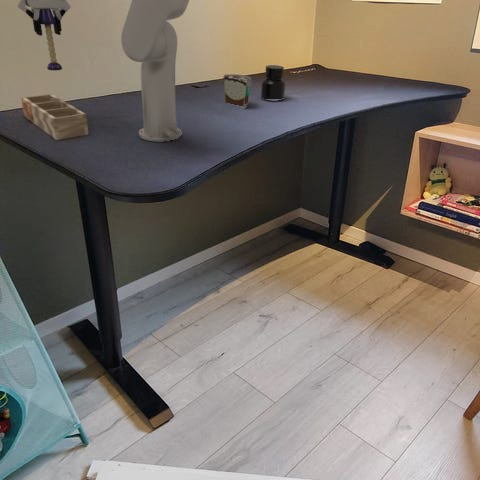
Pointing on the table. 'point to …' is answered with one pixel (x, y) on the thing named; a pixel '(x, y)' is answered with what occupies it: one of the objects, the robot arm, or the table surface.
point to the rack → (55, 116)
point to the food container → (237, 89)
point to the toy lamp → (49, 37)
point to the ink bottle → (273, 83)
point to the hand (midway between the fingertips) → (48, 33)
